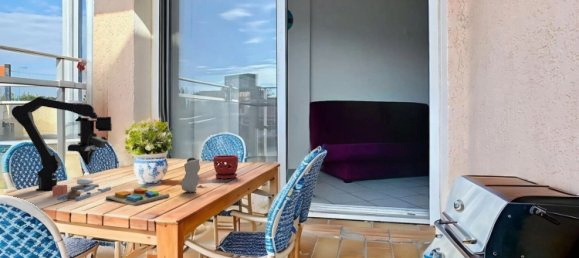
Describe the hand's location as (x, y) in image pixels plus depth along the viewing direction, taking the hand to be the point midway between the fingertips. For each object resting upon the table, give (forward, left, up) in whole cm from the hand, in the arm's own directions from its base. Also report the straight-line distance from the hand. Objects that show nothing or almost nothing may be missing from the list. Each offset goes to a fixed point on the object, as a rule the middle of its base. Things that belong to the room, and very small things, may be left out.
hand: (87, 164), depth 174 cm
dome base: (0, -2, -10) cm, 11 cm away
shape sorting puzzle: (+34, -16, -11) cm, 39 cm away
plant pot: (+55, +36, -11) cm, 67 cm away
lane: (+9, -14, -10) cm, 20 cm away
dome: (0, -2, -9) cm, 9 cm away
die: (0, -17, -11) cm, 20 cm away
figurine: (+50, -1, -11) cm, 51 cm away
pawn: (+9, -21, -11) cm, 25 cm away
